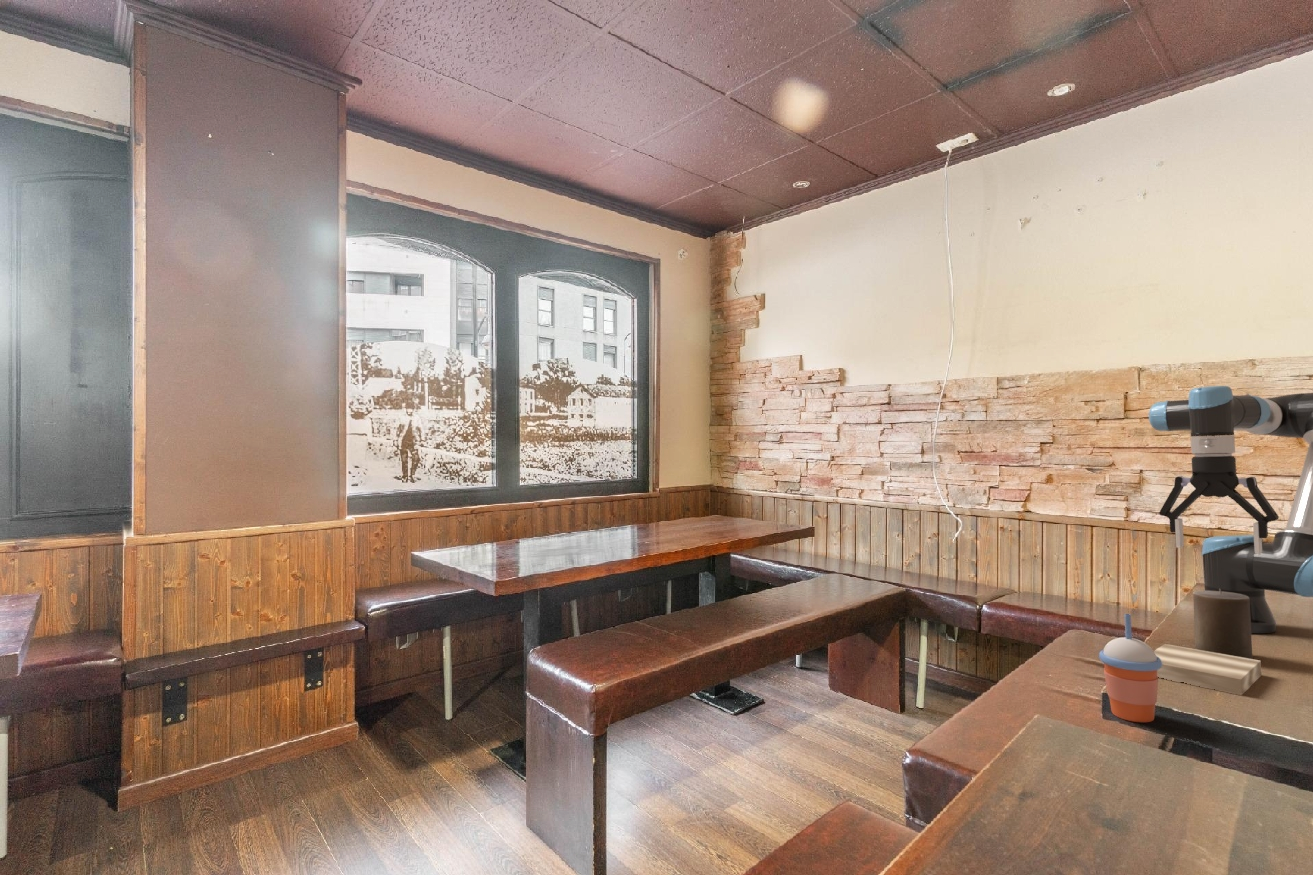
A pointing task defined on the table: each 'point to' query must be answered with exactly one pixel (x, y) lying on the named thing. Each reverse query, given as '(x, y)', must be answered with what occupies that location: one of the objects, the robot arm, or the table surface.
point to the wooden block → (1207, 669)
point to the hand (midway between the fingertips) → (1217, 550)
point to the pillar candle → (1222, 623)
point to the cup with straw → (1131, 676)
